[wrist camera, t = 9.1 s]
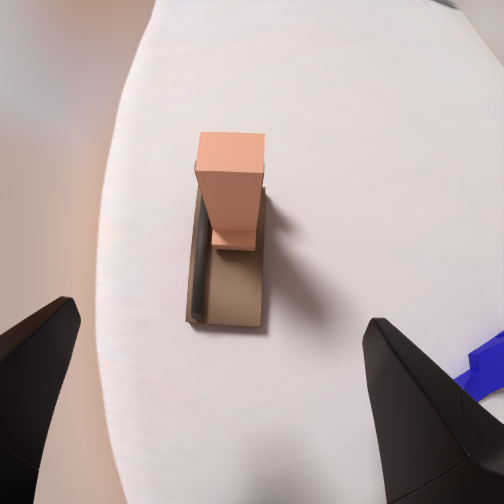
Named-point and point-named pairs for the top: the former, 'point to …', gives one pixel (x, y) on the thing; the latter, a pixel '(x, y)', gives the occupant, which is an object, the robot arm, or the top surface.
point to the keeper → (231, 186)
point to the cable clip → (484, 369)
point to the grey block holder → (224, 275)
